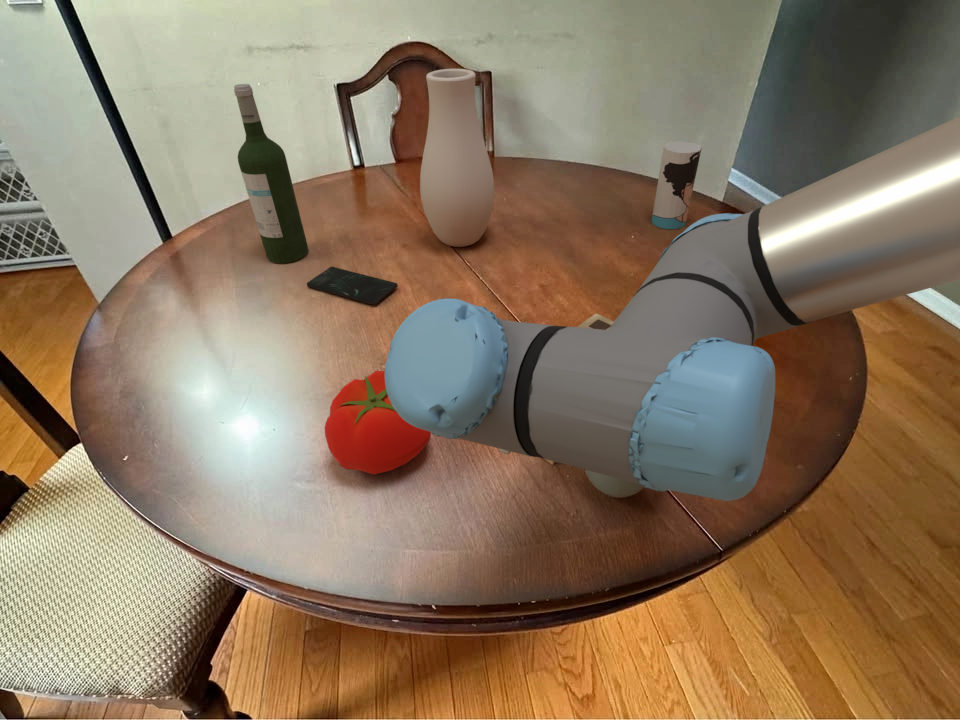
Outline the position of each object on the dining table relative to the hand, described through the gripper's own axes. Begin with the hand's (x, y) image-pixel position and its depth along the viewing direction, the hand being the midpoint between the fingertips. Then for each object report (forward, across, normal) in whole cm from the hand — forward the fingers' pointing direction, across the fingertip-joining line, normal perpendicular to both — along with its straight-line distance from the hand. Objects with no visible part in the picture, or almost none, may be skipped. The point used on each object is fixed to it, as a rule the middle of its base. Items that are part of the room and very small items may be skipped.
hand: (636, 440), depth 61 cm
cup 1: (0, 0, -5) cm, 5 cm away
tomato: (-9, -23, -16) cm, 29 cm away
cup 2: (+46, -30, +40) cm, 68 cm away
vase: (+22, -56, +16) cm, 62 cm away
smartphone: (+4, -57, -2) cm, 57 cm away
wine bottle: (+3, -77, -2) cm, 77 cm away
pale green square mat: (+17, -9, +11) cm, 22 cm away
